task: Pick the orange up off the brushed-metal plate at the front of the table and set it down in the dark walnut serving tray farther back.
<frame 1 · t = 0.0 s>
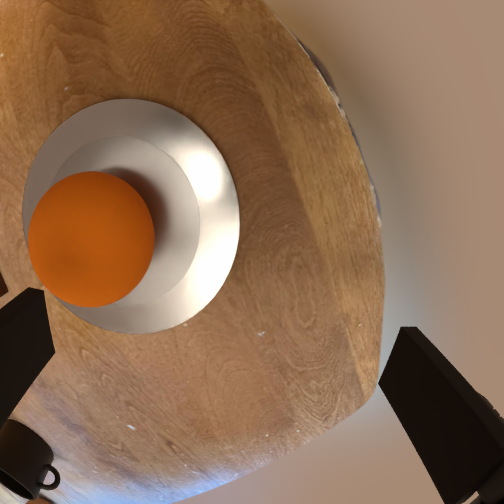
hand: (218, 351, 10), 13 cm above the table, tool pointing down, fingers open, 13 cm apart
plate: (118, 222, 21), on the table
orange: (90, 239, 16), point 5 cm above the table, touching plate
egg: (46, 499, 36), on the table
mug: (35, 443, 29), on the table
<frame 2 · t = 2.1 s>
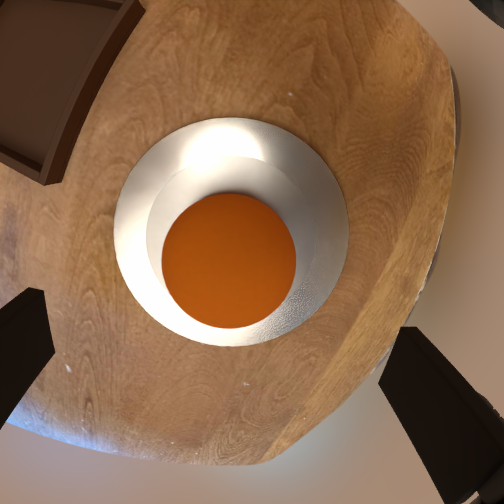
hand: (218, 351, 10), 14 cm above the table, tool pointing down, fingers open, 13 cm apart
plate: (230, 240, 23), on the table
orange: (228, 261, 18), point 5 cm above the table, touching plate
tray: (22, 68, 17), on the table
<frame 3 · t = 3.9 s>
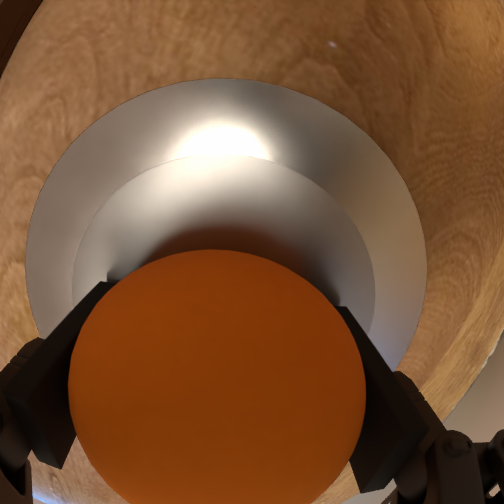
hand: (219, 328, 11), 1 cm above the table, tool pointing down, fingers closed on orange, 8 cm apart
plate: (221, 313, 12), on the table
orange: (215, 395, 8), point 5 cm above the table, touching gripper, plate
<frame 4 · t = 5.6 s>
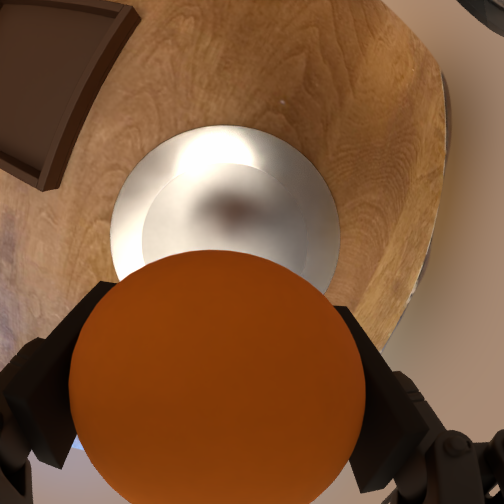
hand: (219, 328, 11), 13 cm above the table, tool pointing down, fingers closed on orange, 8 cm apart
plate: (224, 244, 24), on the table
orange: (216, 394, 8), point 16 cm above the table, touching gripper
tray: (20, 74, 18), on the table
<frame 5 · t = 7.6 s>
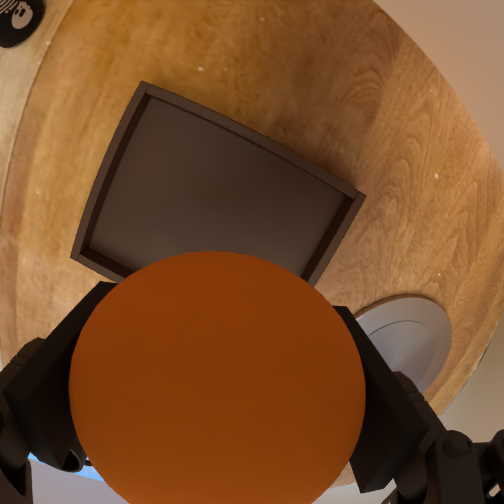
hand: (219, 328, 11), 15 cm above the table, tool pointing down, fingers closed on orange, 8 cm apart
plate: (386, 364, 31), on the table
orange: (216, 395, 8), point 19 cm above the table, touching gripper
tray: (210, 219, 25), on the table
mug: (78, 406, 31), on the table
beverage can: (23, 23, 17), on the table
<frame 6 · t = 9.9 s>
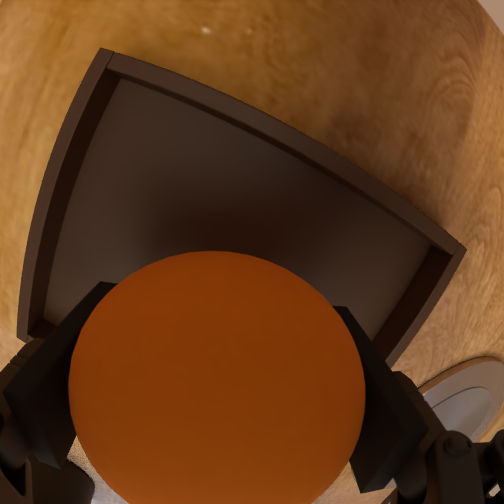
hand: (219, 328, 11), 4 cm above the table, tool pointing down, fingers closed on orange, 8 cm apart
plate: (436, 431, 21), on the table
orange: (215, 395, 8), point 8 cm above the table, touching gripper
tray: (225, 284, 15), on the table
mug: (65, 474, 21), on the table
when the fingers open (1 cm above the table, at t = 11.3 s): orange stays where it is, resting on tray.
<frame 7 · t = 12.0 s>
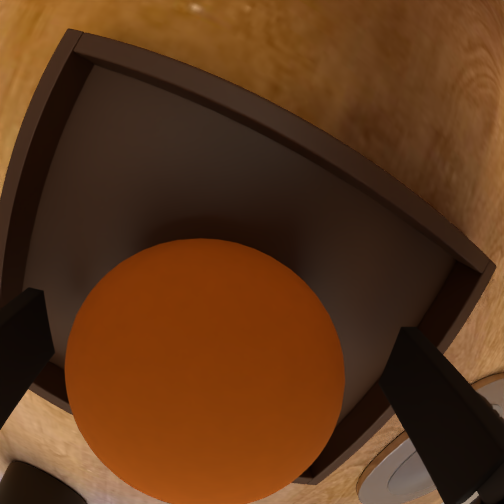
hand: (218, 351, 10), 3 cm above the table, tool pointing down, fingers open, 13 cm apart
plate: (445, 449, 19), on the table
orange: (203, 376, 8), point 5 cm above the table, touching tray
tray: (219, 309, 13), on the table
mug: (57, 492, 19), on the table
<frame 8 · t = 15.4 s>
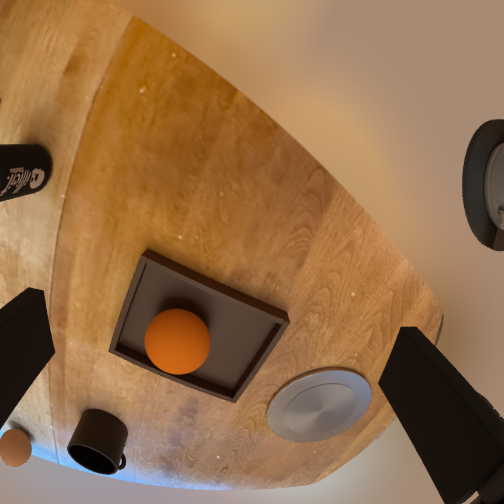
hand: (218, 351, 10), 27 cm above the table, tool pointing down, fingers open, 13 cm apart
plate: (319, 407, 45), on the table
orange: (177, 341, 35), point 5 cm above the table, tilted 27°, touching tray
tray: (194, 330, 40), on the table
egg: (23, 432, 47), on the table
mug: (109, 429, 46), on the table
beverage can: (36, 168, 32), on the table
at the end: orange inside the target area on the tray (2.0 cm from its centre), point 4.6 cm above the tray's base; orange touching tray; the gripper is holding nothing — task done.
